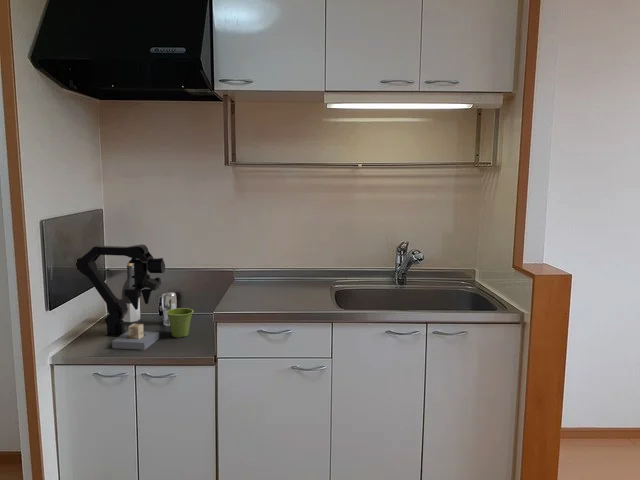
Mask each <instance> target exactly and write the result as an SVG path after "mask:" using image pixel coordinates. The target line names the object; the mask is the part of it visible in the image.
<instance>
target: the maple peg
mask: <svg viewBox="0 0 640 480" xmlns="http://www.w3.org/2000/svg"><path fill="white" fill-rule="evenodd" d="M127 328H128V331H129V339H141V338H142V337H144V332H143V331H144V323H138V324H132V325H128V327H127Z"/></svg>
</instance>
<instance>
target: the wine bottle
mask: <svg viewBox="0 0 640 480" xmlns="http://www.w3.org/2000/svg"><path fill="white" fill-rule="evenodd" d="M133 268H134V265H133V263H128V262H126V274H127V275H126V276H127V277H126V280H125V282H124V283H123V286H122V290H121V299H122V298H123V300H124V302H125V303H126V304H127V305H128V306H127V307H128V312H127V314H126V315H124V318H123V319H122V320H123V323H124V326H131V325H132V324H141V305H140V304H141V303H140V302H141V299H140V298H141V296H140V297H139V302H138V309H137V310H135V308H134V307H133V305H132V303H131V302H130V300H129V299H128V297H126V296H125V295H124V291H125V290H126V289H128V288H130V287H131V288H135V287H132V285H133V284H134V278H132V276H133V275H134V270H133Z"/></svg>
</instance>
